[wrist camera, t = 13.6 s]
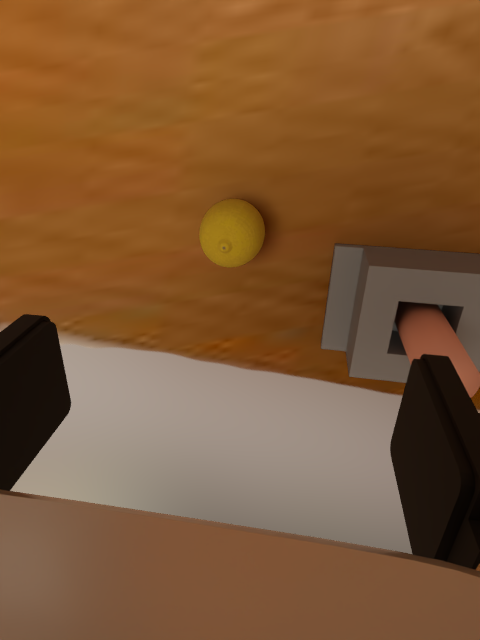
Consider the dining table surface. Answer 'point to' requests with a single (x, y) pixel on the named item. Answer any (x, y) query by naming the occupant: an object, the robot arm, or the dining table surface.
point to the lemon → (232, 233)
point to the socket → (396, 303)
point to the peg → (434, 339)
